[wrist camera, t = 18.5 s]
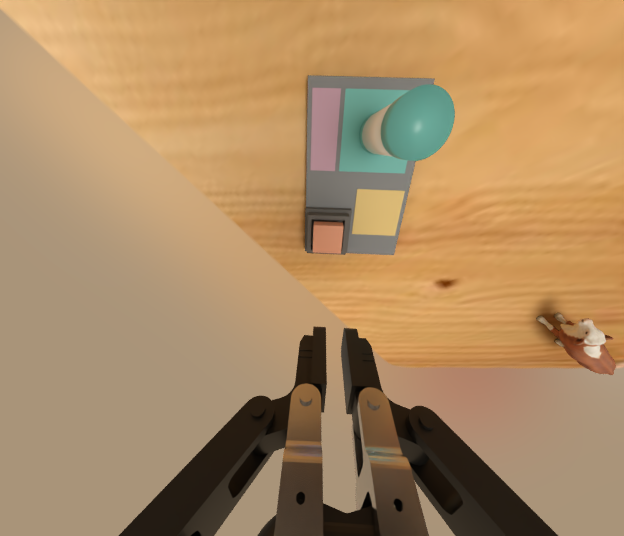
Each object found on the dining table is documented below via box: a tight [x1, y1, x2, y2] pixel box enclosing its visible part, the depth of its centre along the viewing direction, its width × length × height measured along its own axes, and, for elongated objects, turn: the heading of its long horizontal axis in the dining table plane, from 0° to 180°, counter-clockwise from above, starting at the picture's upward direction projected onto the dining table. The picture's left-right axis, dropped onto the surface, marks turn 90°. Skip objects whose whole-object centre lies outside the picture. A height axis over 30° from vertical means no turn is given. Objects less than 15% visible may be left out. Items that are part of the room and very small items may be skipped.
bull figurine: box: [536, 313, 616, 375], centre depth 35 cm, size 4×13×8 cm, turn 43°
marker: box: [360, 84, 455, 161], centre depth 20 cm, size 4×4×12 cm
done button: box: [313, 221, 344, 254], centre depth 28 cm, size 4×4×2 cm
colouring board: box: [305, 75, 435, 255], centre depth 27 cm, size 20×13×4 cm, turn 178°
